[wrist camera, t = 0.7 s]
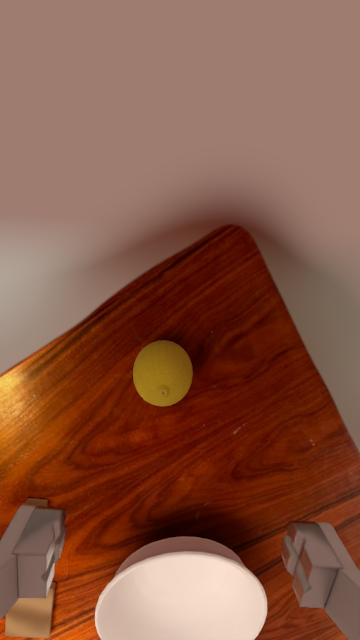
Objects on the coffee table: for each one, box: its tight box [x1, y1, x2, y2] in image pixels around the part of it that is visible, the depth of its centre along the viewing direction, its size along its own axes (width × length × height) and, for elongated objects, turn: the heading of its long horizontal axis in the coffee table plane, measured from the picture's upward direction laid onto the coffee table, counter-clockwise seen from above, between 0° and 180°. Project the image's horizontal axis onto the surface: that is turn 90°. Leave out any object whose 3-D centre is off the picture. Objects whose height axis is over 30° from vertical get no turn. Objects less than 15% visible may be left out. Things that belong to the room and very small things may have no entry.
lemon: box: [133, 340, 193, 406], centre depth 27 cm, size 6×6×8 cm
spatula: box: [5, 498, 56, 638], centre depth 38 cm, size 24×6×1 cm, turn 170°
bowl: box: [95, 536, 267, 640], centre depth 36 cm, size 20×20×6 cm
